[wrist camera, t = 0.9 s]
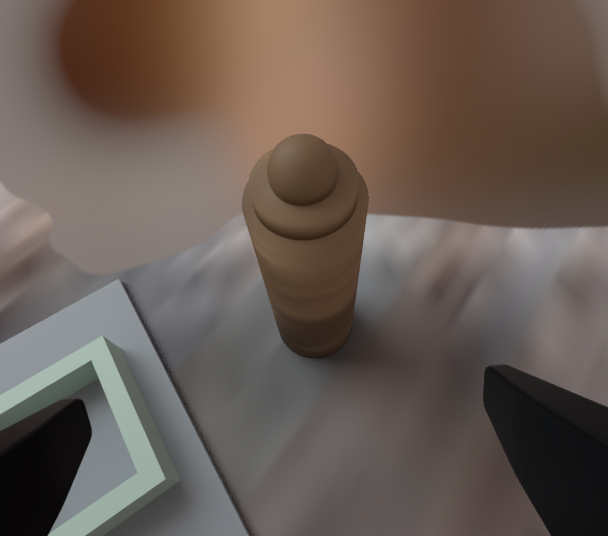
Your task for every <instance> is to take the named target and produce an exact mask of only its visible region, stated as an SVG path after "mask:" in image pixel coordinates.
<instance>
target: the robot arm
mask: <svg viewBox="0 0 608 536" xmlns="http://www.w3.org/2000/svg"><path fill="white" fill-rule="evenodd" d="M483 402H484V407H485V410H486V412H487V414H488V416H489V418H490V421H491V423H492V425H493V427H494V429H495V432H496V434H497V436H498V438H499V440H500V443H501V445H502V447H503V449H504V451H505V454H506V456H507V458H508V460H509V462H510V464H511V467H512V469H513V471H514V473H515V475H516V476H517V478H518V480H519V482H520V484H521V485H522V487H523V489H524V490H525V492H526V494H527V495H528V497H529V499H530V501H531V502H532V504H533V506H534V507H535V509H536V511H537V512H538V514H539V516H540V518H541V519H542V521H543V523H544V524H545V526H546V528H547V529H548V531H549V533H550V535H551V536H608V407H606V406H604V405H601V404H599V403H596V402H594V401H592V400H589V399H587V398H585V397H582V396H580V395H577V394H575V393H573V392H570V391H568V390H566V389H563V388H561V387H558V386H556V385H554V384H551V383H549V382H547V381H544V380H542V379H539V378H537V377H535V376H532V375H530V374H527V373H525V372H523V371H520V370H518V369H516V368H513V367H511V366H508V365H504V364H502V365H490V366H488V367H487V368H486V369H485V373H484V391H483ZM91 437H92V427H91V424H90V420H89V417H88V413H87V410H86V406H85V403H84V401H83V400H82V399H80V398H70V399H62V400H59V401H57V402H55V403H53V404H51V405H49V406H47V407H45V408H44V409H42V410H40V411H38V412H36V413H34V414H32V415H30V416H28V417H26V418H24V419H22V420H20V421H18V422H17V423H15V424H13V425H11V426H9V427H7V428H5V429H3V430H1V431H0V536H48V535H49V533H50V531H51V529H52V527H53V525H54V523H55V521H56V519H57V517H58V515H59V513H60V511H61V509H62V507H63V505H64V503H65V501H66V498H67V496H68V494H69V491H70V489H71V487H72V484H73V482H74V479H75V477H76V475H77V472H78V470H79V467H80V465H81V462H82V460H83V458H84V455H85V453H86V450H87V448H88V446H89V443H90V441H91Z"/></svg>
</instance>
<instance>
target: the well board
mask: <svg viewBox="0 0 608 536" xmlns="http://www.w3.org/2000/svg"><path fill="white" fill-rule="evenodd" d="M70 398H80V399H82V400H83V401H84V403H85V406H86V410H87V413H88V417H89V420H90V424H91V427H92V437H91V441H90V443H89V446H88V448H87V450H86V453H85V455H84V458H83V460H82V462H81V465H80V467H79V470H78V472H77V475H76V477H75V479H74V482H73V484H72V487H71V489H70V491H69V494H68V496H67V498H66V501H65V503H64V505H63V507H62V509H61V511H60V513H59V515H58V517H57V519H56V521H55V523H54V525H53V527H52V529H51V531H50V533H49V535H48V536H250V534H249V532H248V530H247V528H246V526H245V524H244V522H243V520H242V518H241V516H240V514H239V512H238V510H237V508H236V506H235V504H234V502H233V500H232V498H231V496H230V494H229V492H228V490H227V488H226V486H225V484H224V482H223V480H222V478H221V476H220V474H219V472H218V470H217V468H216V466H215V464H214V462H213V460H212V459H211V457H210V455H209V453H208V451H207V449H206V447H205V445H204V443H203V441H202V439H201V437H200V435H199V433H198V431H197V429H196V427H195V425H194V423H193V421H192V419H191V417H190V415H189V413H188V411H187V409H186V407H185V405H184V403H183V401H182V399H181V397H180V395H179V393H178V391H177V389H176V387H175V385H174V383H173V381H172V379H171V377H170V375H169V373H168V372H167V370H166V368H165V366H164V364H163V362H162V360H161V358H160V356H159V354H158V352H157V350H156V348H155V346H154V344H153V342H152V340H151V338H150V336H149V334H148V332H147V330H146V328H145V326H144V324H143V322H142V320H141V318H140V316H139V314H138V312H137V310H136V308H135V306H134V304H133V302H132V300H131V298H130V296H129V294H128V292H127V290H126V288H125V286H124V285H123V283H122V281H121V280H120V279H117V280H115V281H114V282H112V283H110V284H108V285H106V286H105V287H103V288H101V289H99V290H97V291H96V292H94V293H92V294H90V295H88V296H86V297H85V298H83V299H81V300H79V301H77V302H76V303H74V304H72V305H70V306H68V307H67V308H65V309H63V310H61V311H59V312H58V313H56V314H54V315H52V316H50V317H48V318H47V319H45V320H43V321H41V322H39V323H38V324H36V325H34V326H32V327H30V328H29V329H27V330H25V331H23V332H21V333H20V334H18V335H16V336H14V337H12V338H10V339H9V340H7V341H5V342H3V343H1V344H0V431H1V430H3V429H5V428H7V427H9V426H11V425H13V424H15V423H17V422H18V421H20V420H22V419H24V418H26V417H28V416H30V415H32V414H34V413H36V412H38V411H40V410H42V409H44V408H45V407H47V406H49V405H51V404H53V403H55V402H57V401H59V400H62V399H70Z"/></svg>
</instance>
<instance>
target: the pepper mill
mask: <svg viewBox="0 0 608 536" xmlns="http://www.w3.org/2000/svg"><path fill="white" fill-rule="evenodd" d="M242 197H243V198H242V210H243V214H244V217H245V220H246V224H247V227H248V230H249V234H250V237H251V240H252V244H253V247H254V250H255V253H256V257H257V260H258V263H259V267H260V270H261V273H262V277H263V280H264V283H265V286H266V290H267V293H268V296H269V300H270V303H271V306H272V310H273V313H274V316H275V319H276V323H277V326H278V329H279V333H280V335H281V338H282V340H283V341H284V343H285V344H286V345H287V347H289V348H290V349H291V350H292V351H293V352H295V353H297V354H299V355H301V356H304V357H309V358H320V357H325V356H328V355H331V354H333V353H335V352H336V351H338V350H339V349H340V348H341V347H342V346H343V345H344V344H345V343H346V341H347V339H348V338H349V335H350V332H351V328H352V321H353V313H354V306H355V298H356V291H357V284H358V276H359V269H360V261H361V254H362V247H363V239H364V232H365V224H366V217H367V209H368V199H369V196H368V190H367V186H366V184H365V182H364V180H363V178H362V176H361V175H360V173H359V172H358V171H357V168H356V166H355V164H354V163H353V161H352V160H351V159H350V158H349V157H348V155H346V154H345V153H344V152H343V151H341V150H340V149H338V148H336V147H334V146H332V145H329V144H327V143H325V142H324V141H323V140H322V139H320V138H318V137H316V136H313V135H310V134H296V135H292V136H289V137H287V138H285V139H284V140H282V141H281V142H280V143H279V144H277V146H276V147H275V148H274V149H273V150H271V151H269V152H267V153H266V154H265V155H264V156H262V158H260V159H259V160H258V162H257V163H256V164H255V166H254V167H253V169H252V171H251V174H250V177H249V181H248V183H247V184H246V187H245V189H244V192H243V196H242Z"/></svg>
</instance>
